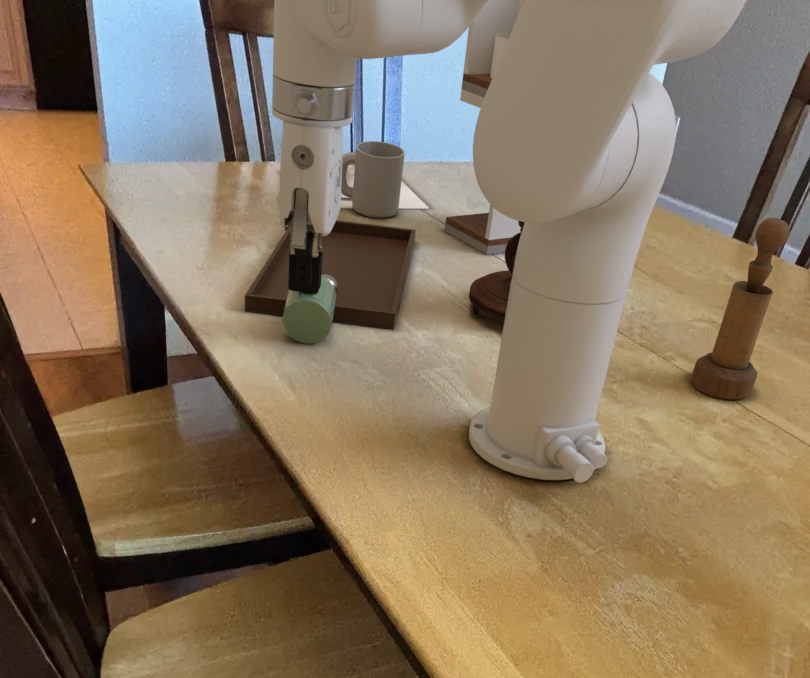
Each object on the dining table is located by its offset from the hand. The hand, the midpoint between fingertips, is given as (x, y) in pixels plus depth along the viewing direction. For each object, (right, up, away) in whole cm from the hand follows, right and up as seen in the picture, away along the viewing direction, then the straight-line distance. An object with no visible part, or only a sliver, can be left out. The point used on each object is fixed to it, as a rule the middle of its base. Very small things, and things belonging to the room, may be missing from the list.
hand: (304, 289), depth 92 cm
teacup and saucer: (+2, +31, +51) cm, 60 cm away
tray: (+2, +8, +20) cm, 22 cm away
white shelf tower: (+24, +18, +38) cm, 48 cm away
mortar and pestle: (+45, -10, +3) cm, 46 cm away
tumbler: (0, -3, 0) cm, 3 cm away
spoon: (0, -4, +3) cm, 5 cm away
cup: (+5, +25, +43) cm, 50 cm away
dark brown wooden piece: (+26, +1, +15) cm, 29 cm away
